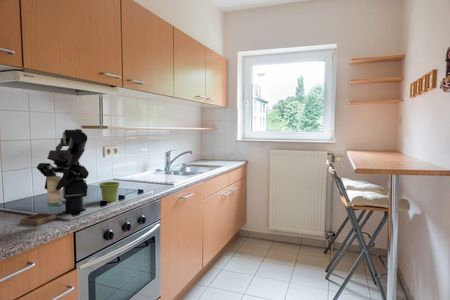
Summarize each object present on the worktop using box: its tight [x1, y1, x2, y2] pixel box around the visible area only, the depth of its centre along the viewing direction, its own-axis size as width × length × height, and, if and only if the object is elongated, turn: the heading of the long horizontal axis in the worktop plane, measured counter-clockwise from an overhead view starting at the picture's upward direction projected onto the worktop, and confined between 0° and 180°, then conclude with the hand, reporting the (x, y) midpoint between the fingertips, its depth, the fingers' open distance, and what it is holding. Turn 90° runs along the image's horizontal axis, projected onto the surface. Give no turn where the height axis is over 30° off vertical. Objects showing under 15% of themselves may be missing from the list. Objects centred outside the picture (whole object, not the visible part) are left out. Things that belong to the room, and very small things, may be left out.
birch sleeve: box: [46, 175, 63, 209], centre depth 108 cm, size 4×4×11 cm
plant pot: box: [98, 181, 120, 203], centre depth 142 cm, size 9×9×9 cm
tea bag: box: [83, 179, 90, 202], centre depth 144 cm, size 4×7×10 cm, turn 74°
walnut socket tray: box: [19, 212, 57, 227], centre depth 110 cm, size 8×8×2 cm
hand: (51, 189), depth 106 cm, fingers closed on birch sleeve, 4 cm apart
